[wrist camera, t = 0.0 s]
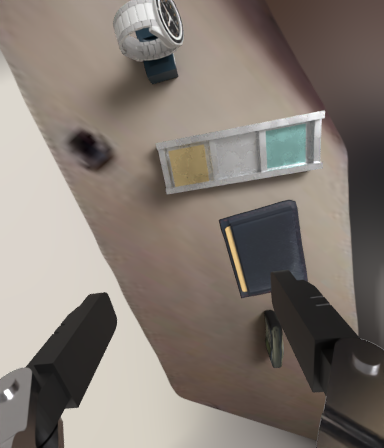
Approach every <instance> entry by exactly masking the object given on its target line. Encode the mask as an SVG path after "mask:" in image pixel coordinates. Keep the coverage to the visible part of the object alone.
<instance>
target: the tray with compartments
mask: <svg viewBox="0 0 384 448" xmlns="http://www.w3.org/2000/svg"><path fill="white" fill-rule="evenodd" d="M322 118H325V111H319V112H314V113H309V114H304V115H299V116H294V117H289V118H283V119H278V120H273V121H268V122H263V123H258V124H252V125H247V126H242V127H237V128H232V129H227V130H222V131H216V132H211V133H206V134H201V135H196V136H191V137H186V138H180V139H175V140H170V141H165V142H160V143H156V148H157V150H158V152H159V157H160V162H161V166H162V171H163V175H164V180H165V185H166V193H167V194H173V193H179V192H185V191H191V190H196V189H202V188H208V187H214V186H220V185H226V184H232V183H238V182H244V181H250V180H256V179H262V178H268V177H273V176H279V175H285V174H291V173H297V172H303V171H309V170H315V169H321V168H323V162H320V150H321V120H322ZM198 145H204V148H205V154H206V161H207V168H208V175H209V181H207V182H201V183H196V184H190V185H184V186H178V187H175V182H174V177H173V172H172V167H171V162H170V157H169V152H168V151H172V150H177V149H182V148H188V147H193V146H198Z"/></svg>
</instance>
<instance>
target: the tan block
mask: <svg viewBox="0 0 384 448" xmlns="http://www.w3.org/2000/svg"><path fill="white" fill-rule="evenodd" d="M168 152H169V157H170V162H171V167H172V172H173V177H174V182H175V187H178V186H184V185H190V184H196V183H201V182H207V181H209V175H208V168H207V161H206V154H205V148H204V145H198V146H193V147H188V148H182V149H177V150H172V151H168Z"/></svg>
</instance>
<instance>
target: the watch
mask: <svg viewBox="0 0 384 448" xmlns="http://www.w3.org/2000/svg"><path fill="white" fill-rule="evenodd" d="M136 2H137V3H136ZM135 8H136V9H135ZM136 12H137V13H136ZM137 16H138V17H137ZM138 20H139V21H138ZM142 25H143V26H142ZM113 27H114V31H115V34H116V38H117V41H118V44H119V48H120V50H121V52H122V54H123V55H125V56H127V57H129V58H131V59H133V60H136V61H141V62H144V66H145V70H146V74H147V77H148V79H149V80H150V82H151V83H152V84H155V83H159V82H162V81H165V80H169V79H172V78H175V77H178V73H177V69H176V63H175V59H174V54H173V52H175V51H176V50H177V49H178V48H179V47H180V46H182V42H183V37H184V33H183V25H182V21H181V18H180V15H179V12H178V9H177V7H176V5H175V3H174V1H173V0H131V1H129V2H128V3H126V4H124V5H123V6H122V7H121V8H120V9H119V10H118V11H117V13H116V15H115V17H114V21H113ZM135 30H136V31H135ZM133 32H136V36H137V39H136V38H133V37H131V36H129V34H132V33H133Z"/></svg>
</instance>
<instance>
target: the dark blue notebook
mask: <svg viewBox="0 0 384 448" xmlns="http://www.w3.org/2000/svg"><path fill="white" fill-rule="evenodd" d="M219 222H220V226H221V230H222V233H223V236H224V239H225V242H226V246H227V249H228V253H229V256H230V260H231V263H232V267H233V270H234V274H235V277H236V281H237V284H238V288H239V291H240V294H241V298H244V297H249V296H256V295H261V294H266V293H270V292H271V277H270V275H271V272H274V271H282V270H289V271H290V272H291V273H292V275H293V276H294V277H295V278H296V280H305V281H307V282H308V279H307V271H306V265H305V259H304V253H303V247H302V241H301V233H300V226H299V218H298V209H297V206H296V202H295V201H292V200H286V201H282V202H278V203H275V204H271V205H268V206H265V207H262V208H258V209H255V210H251V211H248V212H244V213H240V214H237V215H233V216H230V217H227V218H223V219H220V220H219Z"/></svg>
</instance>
